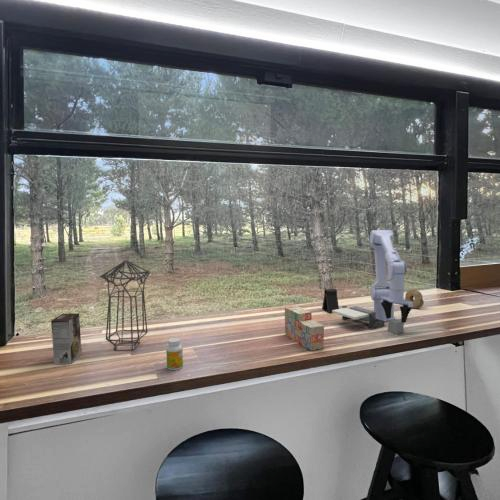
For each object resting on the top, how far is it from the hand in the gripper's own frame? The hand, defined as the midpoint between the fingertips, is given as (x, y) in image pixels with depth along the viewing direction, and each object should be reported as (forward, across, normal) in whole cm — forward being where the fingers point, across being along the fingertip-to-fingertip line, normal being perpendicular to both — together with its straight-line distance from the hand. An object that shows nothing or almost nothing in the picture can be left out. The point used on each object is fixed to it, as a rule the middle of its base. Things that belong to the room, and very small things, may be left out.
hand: (395, 320), depth 150 cm
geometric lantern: (+6, -47, -103) cm, 113 cm away
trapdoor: (+3, -17, -7) cm, 19 cm away
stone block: (+5, 0, 0) cm, 5 cm away
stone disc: (+5, -20, +43) cm, 48 cm away
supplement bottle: (+6, -18, -94) cm, 96 cm away
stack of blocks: (+6, -14, -41) cm, 43 cm away
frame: (+5, -17, -1) cm, 18 cm away
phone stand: (+5, -41, +1) cm, 41 cm away
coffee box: (+6, -46, -125) cm, 133 cm away
